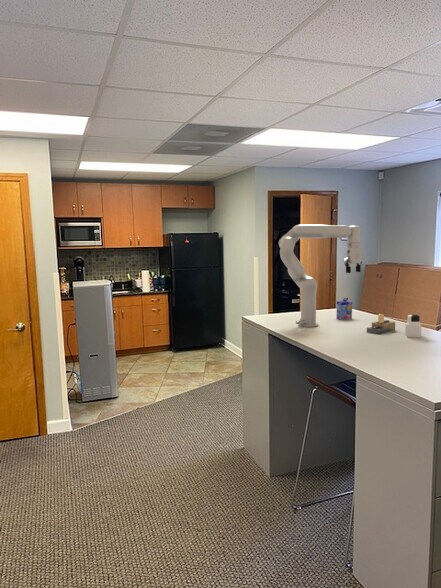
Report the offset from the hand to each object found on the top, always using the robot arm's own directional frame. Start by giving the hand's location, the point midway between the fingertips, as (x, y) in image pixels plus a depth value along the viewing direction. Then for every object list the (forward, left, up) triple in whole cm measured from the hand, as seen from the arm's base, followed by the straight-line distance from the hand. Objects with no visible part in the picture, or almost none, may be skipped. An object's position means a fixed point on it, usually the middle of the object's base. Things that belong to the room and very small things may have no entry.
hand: (353, 272), depth 270 cm
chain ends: (-6, -25, -33) cm, 42 cm away
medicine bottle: (-4, -44, -34) cm, 55 cm away
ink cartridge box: (+10, +15, -34) cm, 38 cm away
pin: (-6, -25, -33) cm, 42 cm away
